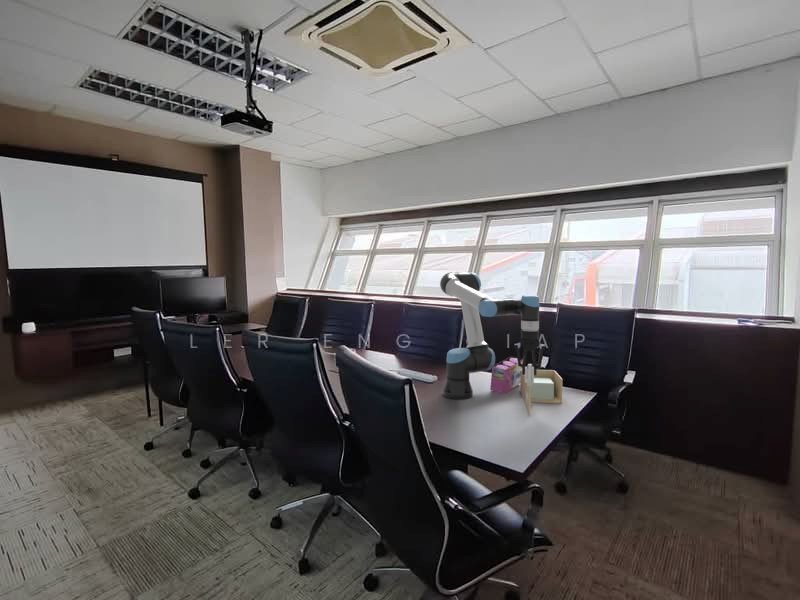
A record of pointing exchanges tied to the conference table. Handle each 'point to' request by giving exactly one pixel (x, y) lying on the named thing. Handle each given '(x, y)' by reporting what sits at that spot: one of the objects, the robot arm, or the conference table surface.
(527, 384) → the front flap
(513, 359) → the gum box
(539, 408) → the conference table surface
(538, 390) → the carton
